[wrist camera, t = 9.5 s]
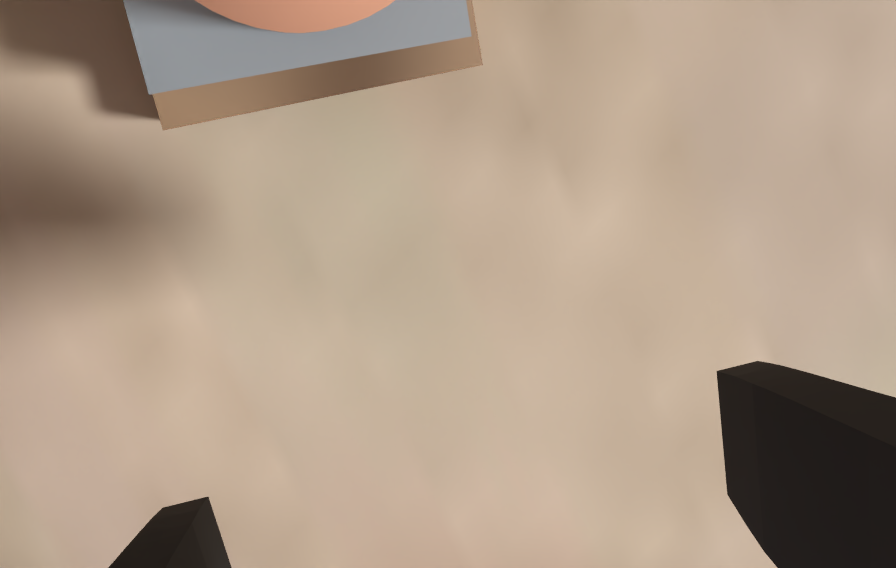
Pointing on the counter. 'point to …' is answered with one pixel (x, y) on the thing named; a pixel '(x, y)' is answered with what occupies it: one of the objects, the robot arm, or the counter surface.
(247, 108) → the base block
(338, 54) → the top block
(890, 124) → the counter surface
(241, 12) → the peach ball
